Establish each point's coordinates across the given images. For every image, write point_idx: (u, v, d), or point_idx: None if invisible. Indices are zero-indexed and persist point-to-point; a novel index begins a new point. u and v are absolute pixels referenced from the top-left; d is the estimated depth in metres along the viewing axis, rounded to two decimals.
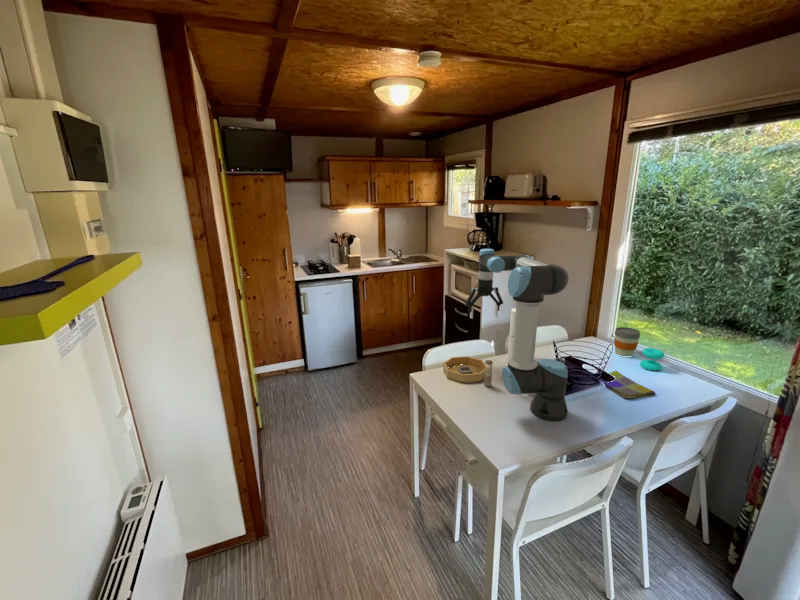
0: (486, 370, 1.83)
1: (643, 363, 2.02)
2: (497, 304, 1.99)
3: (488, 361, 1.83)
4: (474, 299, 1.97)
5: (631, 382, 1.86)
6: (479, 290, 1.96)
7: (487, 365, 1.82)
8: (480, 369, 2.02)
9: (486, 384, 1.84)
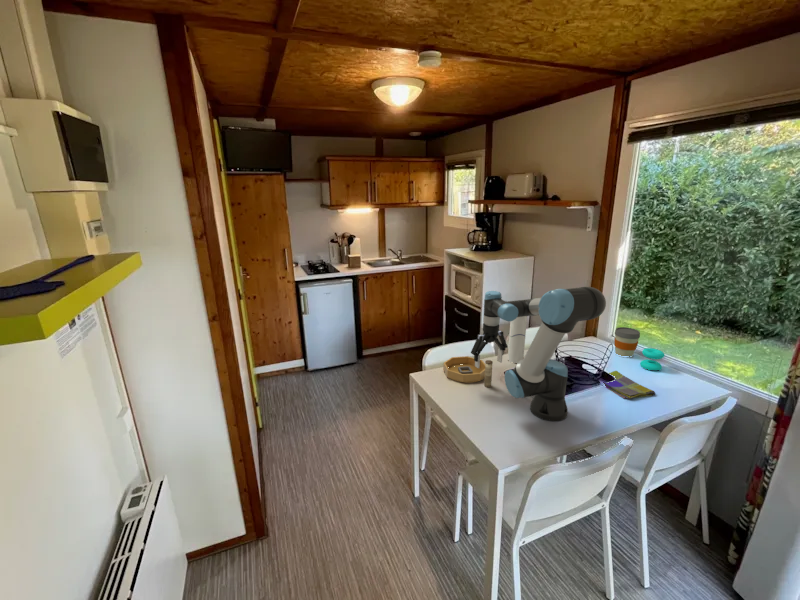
0: (486, 370, 1.83)
1: (643, 363, 2.02)
2: (502, 349, 1.83)
3: (488, 361, 1.83)
4: (481, 347, 1.77)
5: (631, 382, 1.86)
6: (486, 337, 1.77)
7: (487, 365, 1.82)
8: (480, 369, 2.02)
9: (486, 384, 1.84)
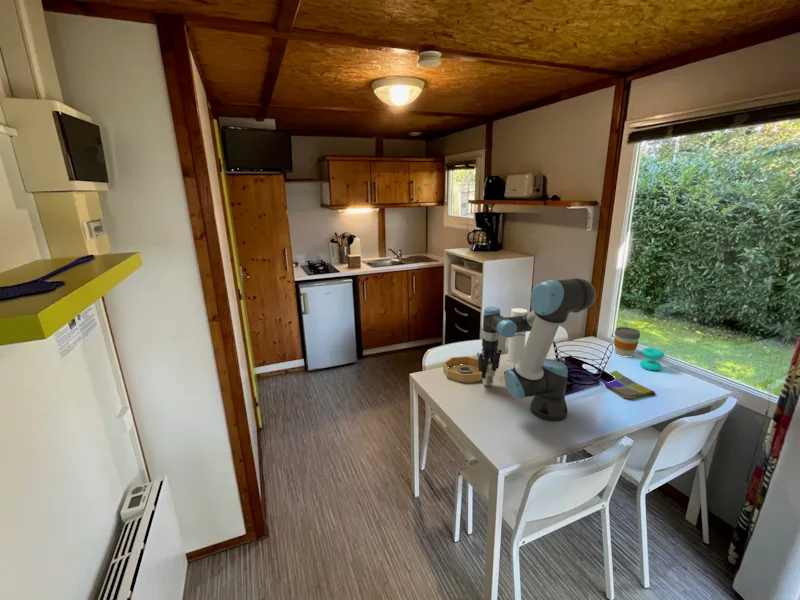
0: None
1: (643, 363, 2.02)
2: (493, 369, 1.84)
3: (488, 361, 1.83)
4: (485, 364, 1.81)
5: (631, 382, 1.86)
6: (485, 352, 1.79)
7: None
8: None
9: None
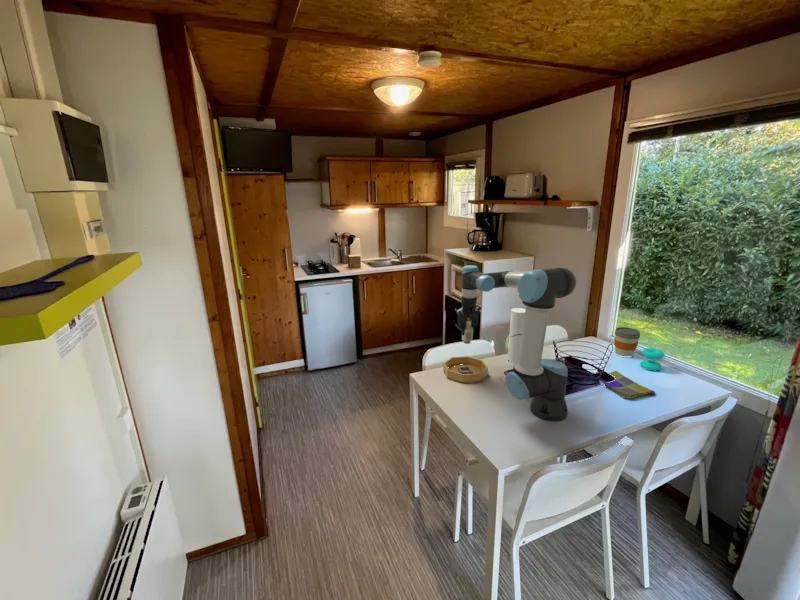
0: (465, 327, 1.91)
1: (643, 363, 2.02)
2: (472, 326, 1.92)
3: (467, 318, 1.91)
4: (464, 321, 1.89)
5: (631, 382, 1.86)
6: (464, 309, 1.87)
7: (466, 322, 1.90)
8: (480, 369, 2.02)
9: (465, 341, 1.93)
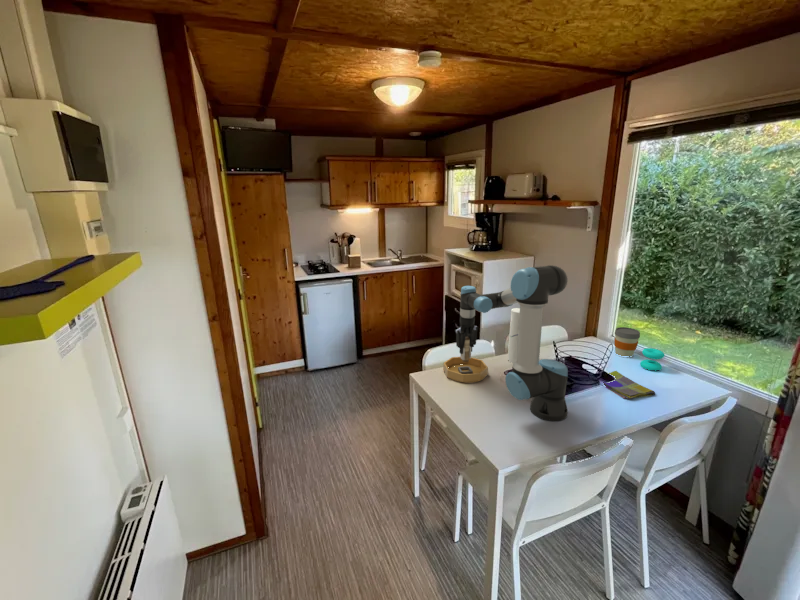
0: (464, 346, 1.94)
1: (643, 363, 2.02)
2: (470, 345, 1.96)
3: None
4: (462, 340, 1.92)
5: (631, 382, 1.86)
6: (462, 328, 1.90)
7: None
8: (480, 369, 2.02)
9: None
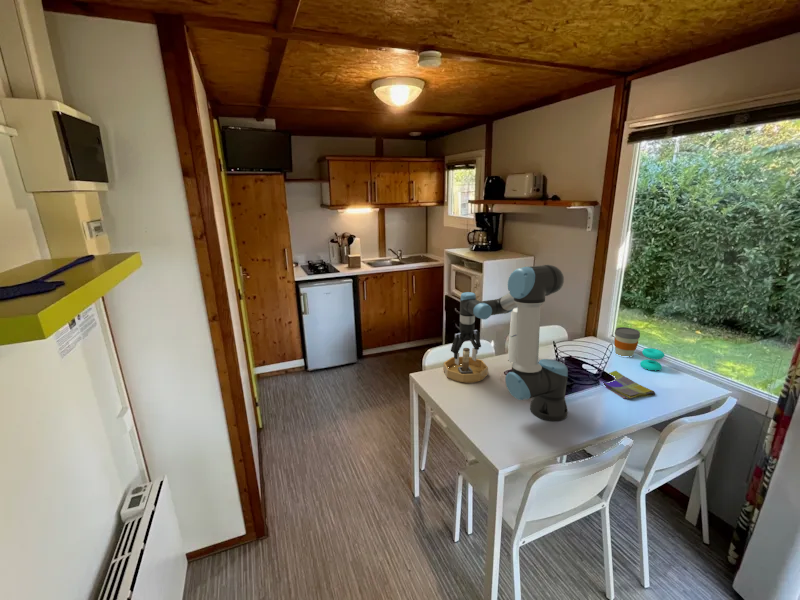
0: (463, 357, 1.96)
1: (643, 363, 2.02)
2: (475, 348, 1.98)
3: (465, 348, 1.97)
4: (459, 345, 1.92)
5: (631, 382, 1.86)
6: (462, 335, 1.91)
7: (464, 352, 1.95)
8: (480, 369, 2.02)
9: (464, 370, 1.98)
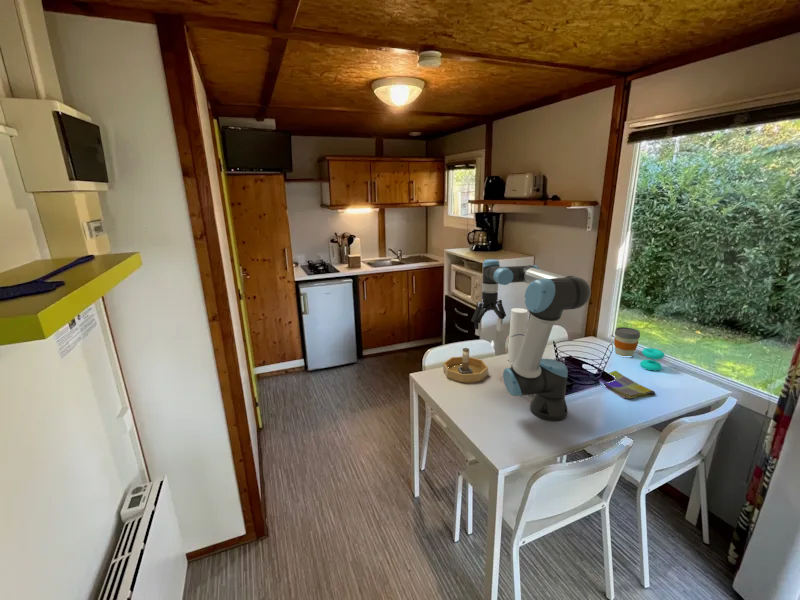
0: (463, 357, 1.96)
1: (643, 363, 2.02)
2: (500, 317, 1.88)
3: (465, 349, 1.96)
4: (481, 314, 1.81)
5: (631, 382, 1.86)
6: (485, 304, 1.81)
7: (464, 352, 1.95)
8: (480, 369, 2.02)
9: (464, 370, 1.98)
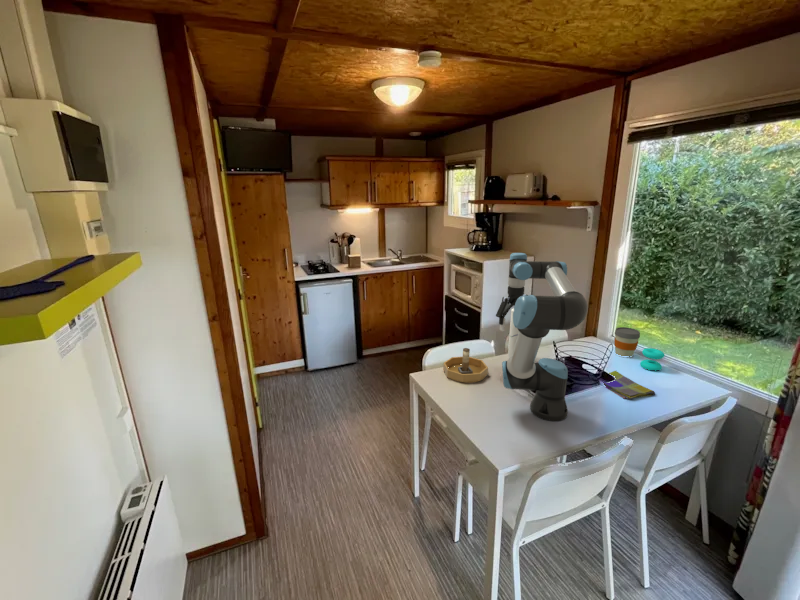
0: (463, 357, 1.96)
1: (643, 363, 2.02)
2: None
3: (465, 349, 1.96)
4: (506, 310, 1.76)
5: (631, 382, 1.86)
6: (511, 299, 1.75)
7: (464, 352, 1.95)
8: (480, 369, 2.02)
9: (464, 370, 1.98)
